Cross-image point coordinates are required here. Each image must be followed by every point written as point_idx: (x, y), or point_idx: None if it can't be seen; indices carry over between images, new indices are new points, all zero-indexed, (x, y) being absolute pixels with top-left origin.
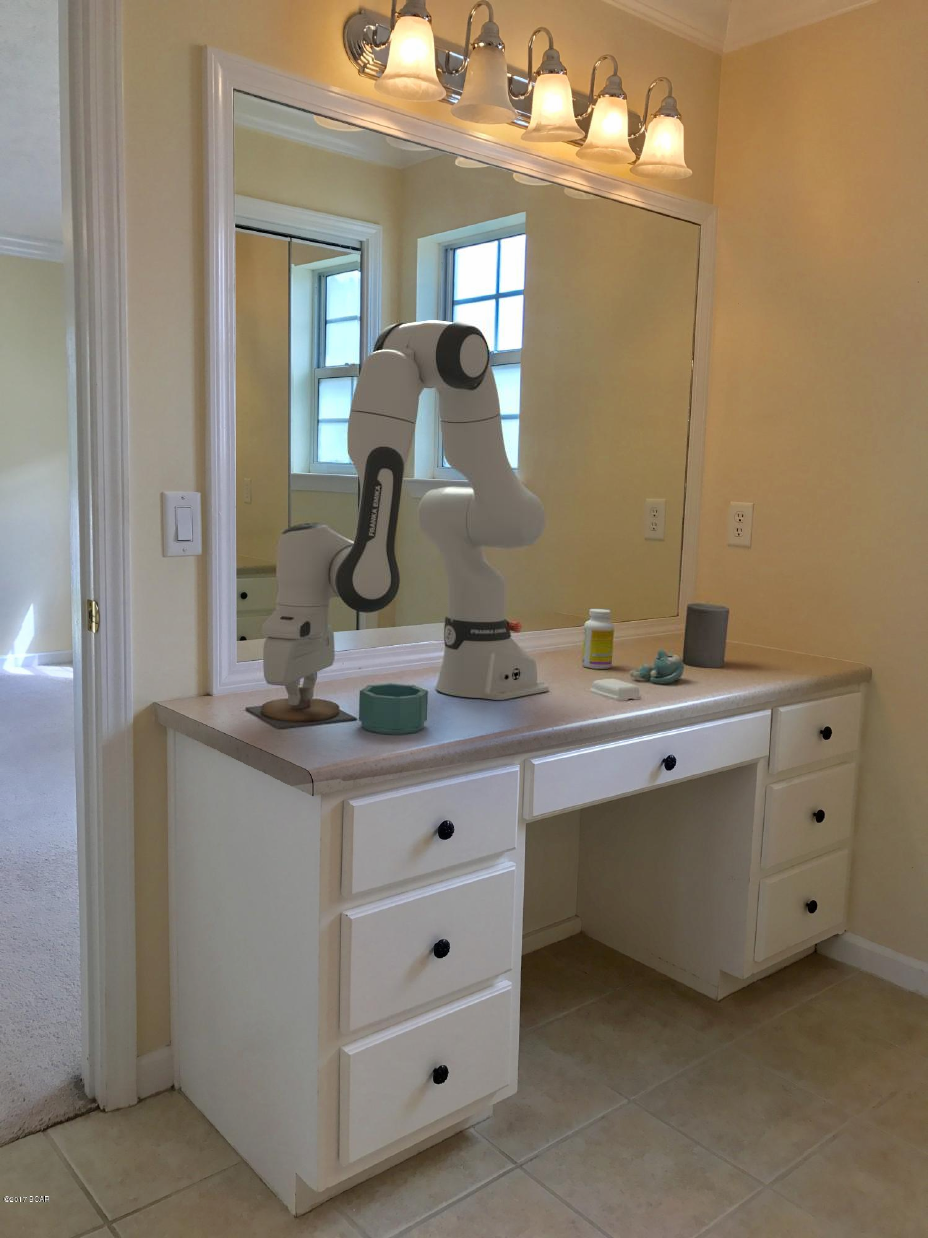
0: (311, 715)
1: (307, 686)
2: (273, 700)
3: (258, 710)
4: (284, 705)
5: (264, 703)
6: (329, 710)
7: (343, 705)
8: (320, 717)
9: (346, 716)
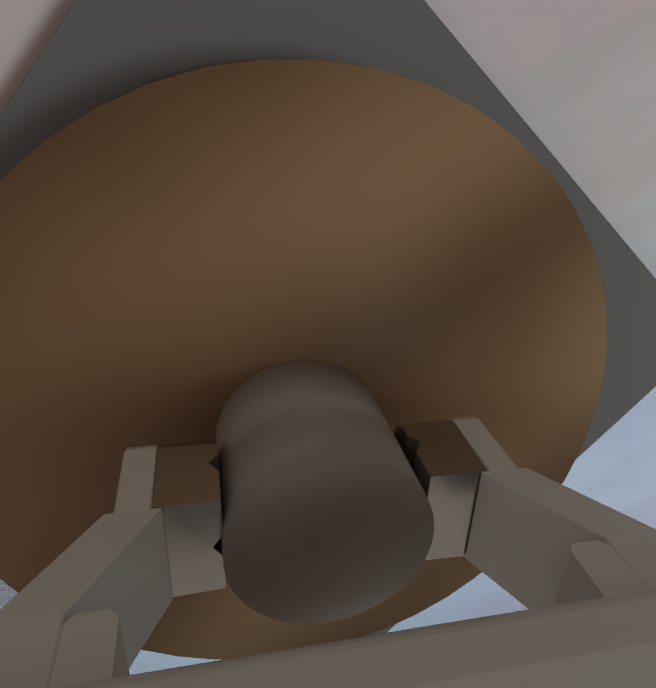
0: None
1: (487, 528)
2: (433, 94)
3: (173, 24)
4: (276, 299)
5: (262, 62)
6: (286, 624)
7: (629, 484)
8: None
9: None
